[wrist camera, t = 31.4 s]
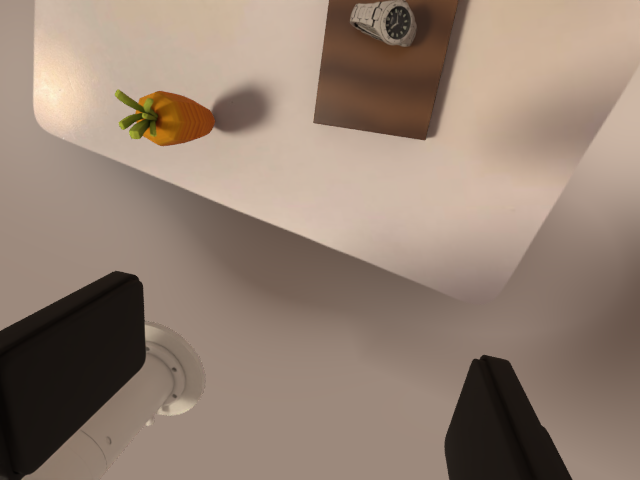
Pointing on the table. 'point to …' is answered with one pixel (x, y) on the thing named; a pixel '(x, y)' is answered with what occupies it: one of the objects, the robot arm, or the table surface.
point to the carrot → (166, 118)
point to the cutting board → (382, 71)
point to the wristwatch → (386, 21)
